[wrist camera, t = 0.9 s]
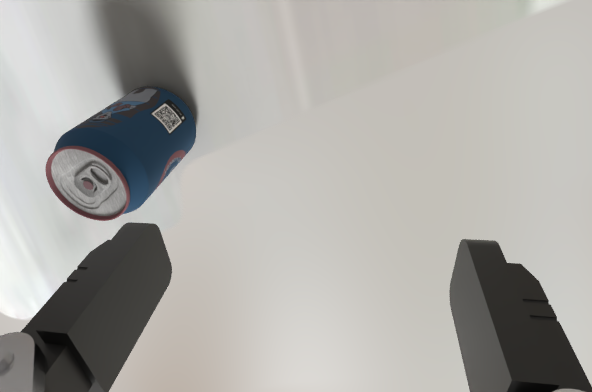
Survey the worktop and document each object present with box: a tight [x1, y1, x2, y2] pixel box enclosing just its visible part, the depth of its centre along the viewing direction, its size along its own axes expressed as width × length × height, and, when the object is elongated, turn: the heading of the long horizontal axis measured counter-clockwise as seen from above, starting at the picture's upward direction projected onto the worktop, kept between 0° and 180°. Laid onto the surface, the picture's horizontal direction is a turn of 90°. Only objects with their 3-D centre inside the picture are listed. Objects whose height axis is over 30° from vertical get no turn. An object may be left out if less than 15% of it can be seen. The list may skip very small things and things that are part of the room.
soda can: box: [46, 87, 196, 221], centre depth 30 cm, size 7×7×12 cm
